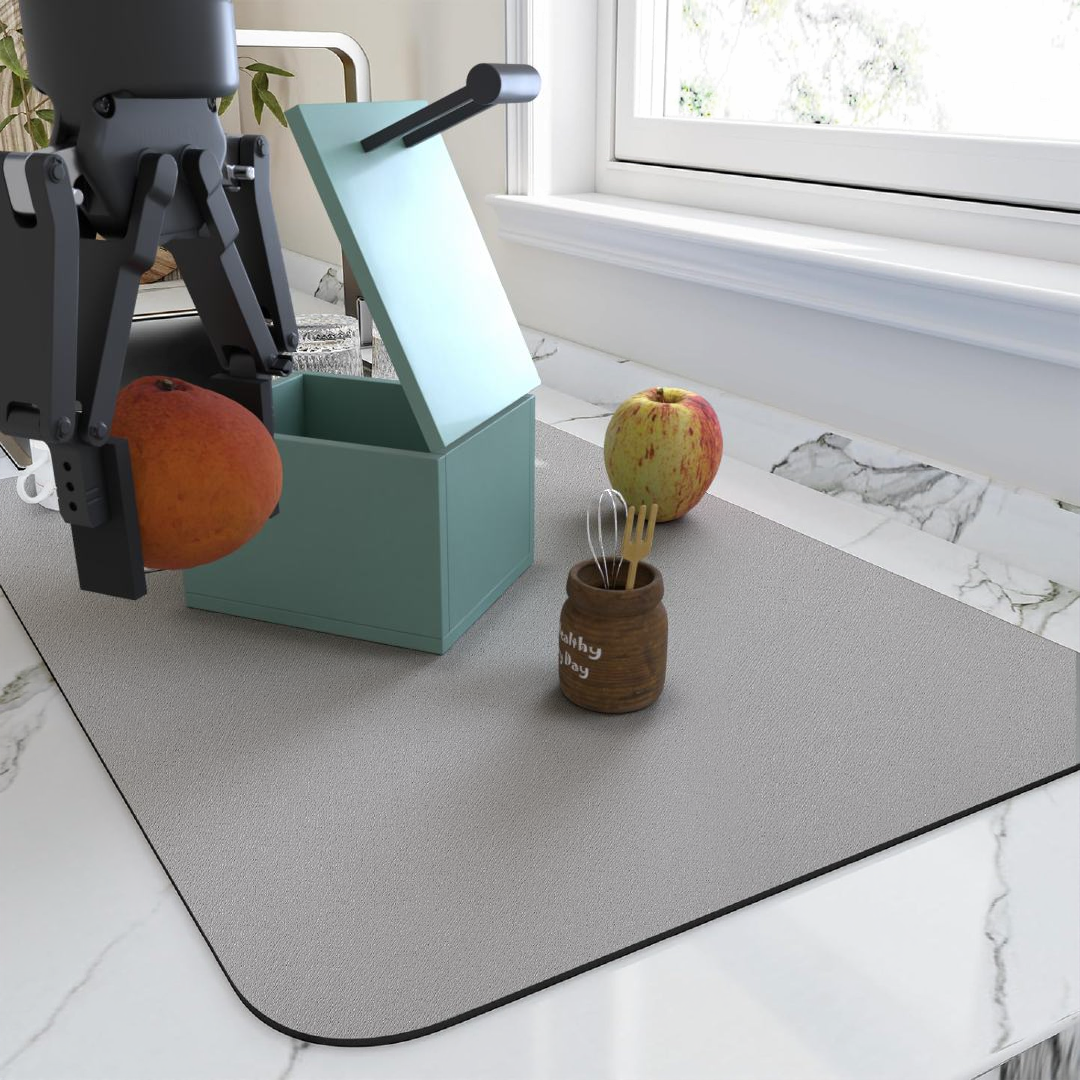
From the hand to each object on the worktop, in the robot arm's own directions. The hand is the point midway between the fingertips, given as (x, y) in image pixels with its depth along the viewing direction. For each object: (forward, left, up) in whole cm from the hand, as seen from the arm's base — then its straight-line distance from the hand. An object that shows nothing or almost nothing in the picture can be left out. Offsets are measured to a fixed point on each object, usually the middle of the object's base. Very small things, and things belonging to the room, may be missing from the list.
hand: (187, 548), depth 51 cm
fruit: (0, 0, -1) cm, 1 cm away
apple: (-7, +44, -12) cm, 46 cm away
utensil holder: (+8, +20, -12) cm, 25 cm away
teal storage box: (-13, +20, -12) cm, 27 cm away
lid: (-8, +22, +9) cm, 25 cm away
